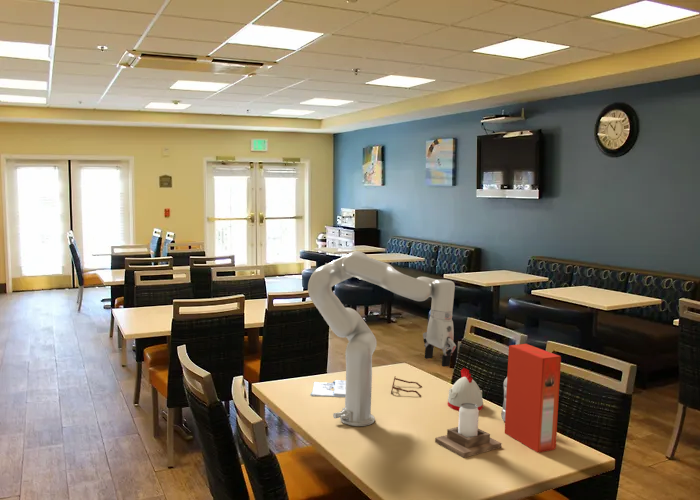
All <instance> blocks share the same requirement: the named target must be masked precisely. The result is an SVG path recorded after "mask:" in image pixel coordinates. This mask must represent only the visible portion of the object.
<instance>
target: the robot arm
mask: <svg viewBox="0 0 700 500" xmlns="http://www.w3.org/2000/svg"><path fill="white" fill-rule="evenodd" d="M352 278H357V279H359V280H361V281H364V282H365V281H366V282H367V283H371V284H374V285H377V286H379V287H381V288H383V289H385V290H387V291H390V292H391V293H393V294H396V295H398V296H401V297H404V298H407V299H410V300H413V301H416V302H424V301H426V300H428V299H429V298H431V304H430V305H431V307H430V314H429V315H430V316H429V320H428V324H427V327H426V332H423V333H422V338H423V342H424V348H425V349H424V359H427V360H428V359H433V357H434V356H433V355H434V347H436V348H438V349H441V350H442V353H443V354H442V359H441V360H442V361H441V367H449V366H451V356H453V353H455V350H456V348H457V345H456V343H455V342H454V337H455V336H454V333H455V332H454V330H455V329H454V321H453V319H452V318H453V309H454V299H455V290H456V288H455V287H456V286H455V285H456V284H455V282H454V281H452V280H449V279H436V278H431V277H428V276H418V277H412V276H410V275H407V274H404V273H402V272H400V271H399V270H397V269H395V267H393V266H392V265H391V264H389V263H388V262H385V261H381V260H378V259H376V258H372V257H369V256H367V254H366V253H364V252H363V251H360V250H355V251H352V252H349V253H347V254H346V255H344V256H342V257H340V258H337V259H335V260H333V261H331V262H328V263H326V264H324V265H321V266H319V267H317V268H316V269H315V270H314V271H312V274H311V276H310V278H309V280H308V283H307V292H308V295H309V298H310V300H311V302H312V303H313V305H314V306H315V307H316V309H317V310H318V312H319V314H320V315H321V316H322V317H323V320H324V321H325V322H326V324H327V325H328V326H329V328H330V330H331V331H332V333H333V334H334V335H335V336H337V337H338V338H342V339H343V338H346V339H347V341H348V342H347V344H346V348H345V355H344V356H345V381H346V394H345V397H344V402H345V403H344V407H342V410H341V411H340V412H339V411H338V412H333V414H332V415H333V419H340V422H342V423H343V424H345V425H348V426H351V427H366V426H369V425H372V424H373V423H375V416H374V415H373V414H371V413H372V410H371V409H372V388H373V387H372V385H373V384H372V383H373V362H372V361H373V354H374V352H375V350H376V348H377V346H378V345H377V344H378V341H377V338H376V336H375V335H374V333H373V331H372V329H370V327H369V326H368V324H367V323H366V322H365V320H364V319H363V317H362V316H361V314H360V313H359V312H358V311H357V310H355V309H354V308H351V307H345V306H344V305H343V303H342V302H341V300H340V299H339V298H338V296H337V295H336V294H335V293H334V292H333V290H332V289H333V287H334V286H335V285H336V286H337V285H338V284H340V283H342V282H344V281H347V280H348V279H352Z"/></svg>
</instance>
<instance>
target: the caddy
mask: <svg viewBox="0 0 700 500" xmlns="http://www.w3.org/2000/svg"><path fill="white" fill-rule="evenodd" d="M446 431H447V433H446V434H445V435H441V436H438V437H435V439H434V443H436V444H438V445H440V446H442V447H443V448H445V449H447V450H449V451H451V452H453V453H454V454H455V455H458V456H460V457H461V458H469V457H470V456H475V455H478V454H482V453H485V452H489V451H493V450H496V449H500V448H502V442H501V441H499V440H497V439H494V438H492V437H491V434H490V433H488V432H486V431H485V430H482V429H481V428H478V435H477V436H474V437H470V438H467V437H465V436H463V435H461V434H460V433H458V426H456V427H452V428H451V427H450V428H448V429H446Z"/></svg>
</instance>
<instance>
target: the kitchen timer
mask: <svg viewBox="0 0 700 500" xmlns="http://www.w3.org/2000/svg"><path fill="white" fill-rule="evenodd" d="M460 375H461V377H460V378H459V379H457V380H456V381H455V382H454V383H453V385H452V387H451V388H449V391H448V396H447V397H448V398H447V406H448V407H449V409H452V410H454V411H458V412H459V409H460V407H461V404H462V403H472V404H475V405H477V406H478V407H477V408H478V411H479V412H480V411H482V410H483V408H484V400H483V390H482V389H480V387H479V385H478V384H477V382H476V381H475V380H474V379H473V378H474V377H471V376H472V373H470V369H468V368H465V367H462V369H460Z"/></svg>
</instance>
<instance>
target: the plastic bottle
mask: <svg viewBox="0 0 700 500" xmlns="http://www.w3.org/2000/svg"><path fill="white" fill-rule="evenodd" d="M506 393H507V376H506V378H504V381H503V403H502V410H501V420H502V421H504V422H505V413H506Z"/></svg>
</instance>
